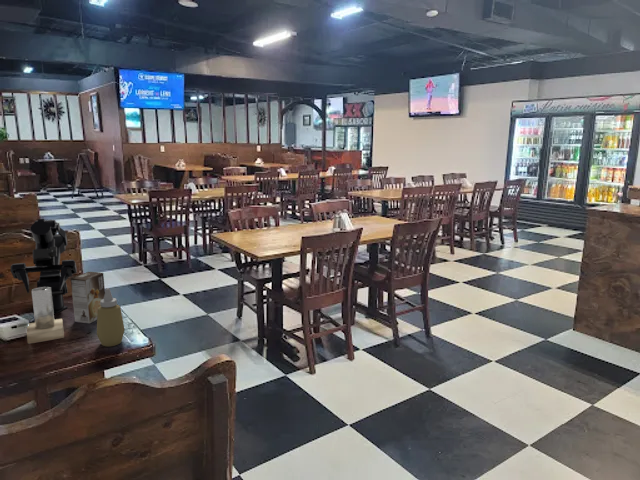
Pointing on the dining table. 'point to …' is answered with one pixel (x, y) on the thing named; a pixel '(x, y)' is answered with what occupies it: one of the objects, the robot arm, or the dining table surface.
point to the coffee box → (87, 295)
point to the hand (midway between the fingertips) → (44, 291)
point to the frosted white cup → (43, 307)
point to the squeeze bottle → (109, 321)
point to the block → (45, 332)
